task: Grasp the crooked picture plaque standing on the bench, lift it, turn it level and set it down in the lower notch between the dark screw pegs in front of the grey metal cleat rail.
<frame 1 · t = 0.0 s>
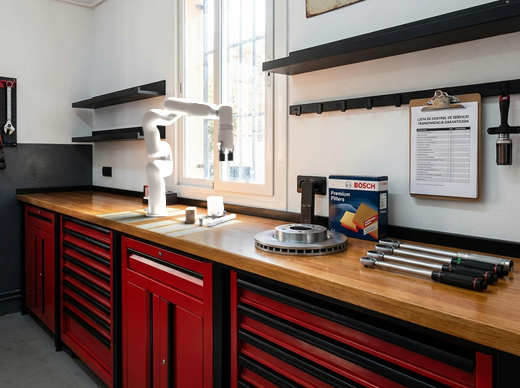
hand: (226, 161, 216), 31 cm above the workbench, fingers open, 9 cm apart
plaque: (191, 221, 214), on the workbench
screw pegs: (213, 221, 213), on the workbench
cleat rail: (222, 221, 211), on the workbench
mug: (217, 216, 232), on the workbench
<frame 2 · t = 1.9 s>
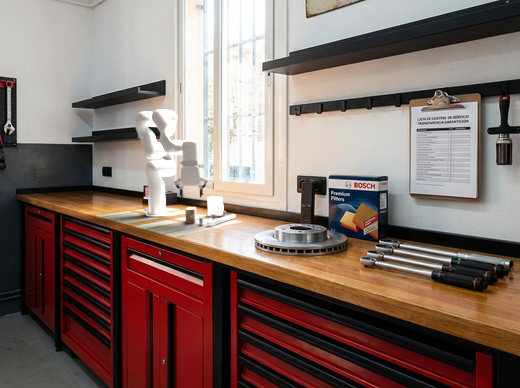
hand: (191, 197, 212), 13 cm above the workbench, fingers open, 9 cm apart
nothing on the workbench moved.
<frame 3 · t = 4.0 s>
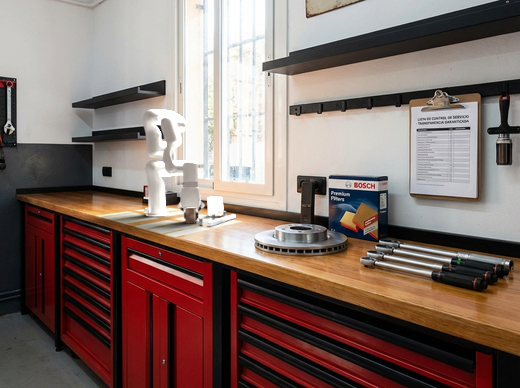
hand: (191, 219, 214), 1 cm above the workbench, fingers closed on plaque, 4 cm apart
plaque: (191, 221, 214), on the workbench, touching gripper
everything else where it was.
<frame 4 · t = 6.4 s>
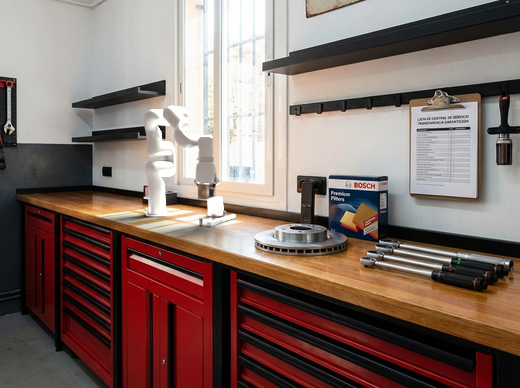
hand: (206, 196, 206), 14 cm above the workbench, fingers closed on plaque, 4 cm apart
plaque: (206, 198, 206), point 13 cm above the workbench, touching gripper
everything else where it was.
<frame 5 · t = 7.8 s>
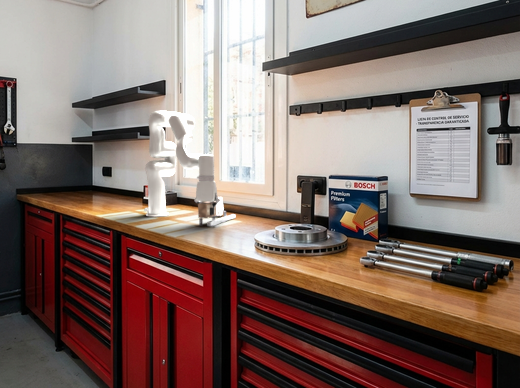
hand: (207, 214, 207), 4 cm above the workbench, fingers closed on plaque, 4 cm apart
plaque: (207, 216, 207), point 4 cm above the workbench, touching gripper
everything else where it was.
when the fingers open (2 cm above the workbench, at t = 9.0 s): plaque drops 2 cm, on the workbench.
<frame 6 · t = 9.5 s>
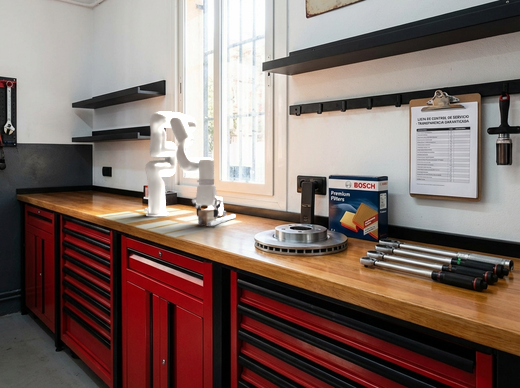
hand: (207, 216, 207), 3 cm above the workbench, fingers open, 9 cm apart
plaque: (207, 223, 207), on the workbench
everything else where it was.
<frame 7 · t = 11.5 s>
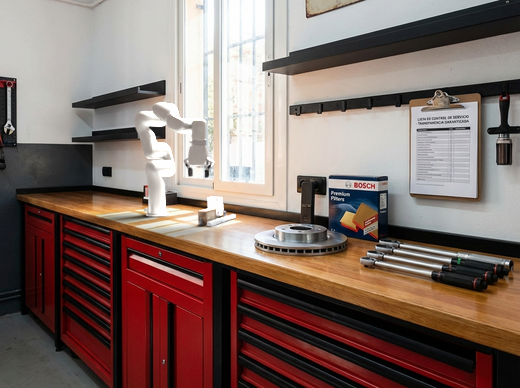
hand: (198, 176, 211), 23 cm above the workbench, fingers open, 9 cm apart
nothing on the workbench moved.
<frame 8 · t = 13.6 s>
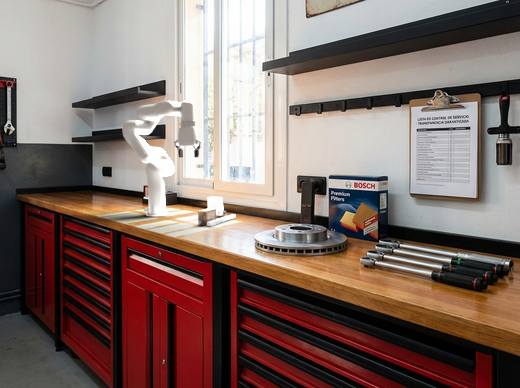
hand: (188, 157, 219), 33 cm above the workbench, fingers open, 9 cm apart
nothing on the workbench moved.
at the end: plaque inside the target area (0.1 cm from its centre), on the workbench; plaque tilted 0°; the gripper is holding nothing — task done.
